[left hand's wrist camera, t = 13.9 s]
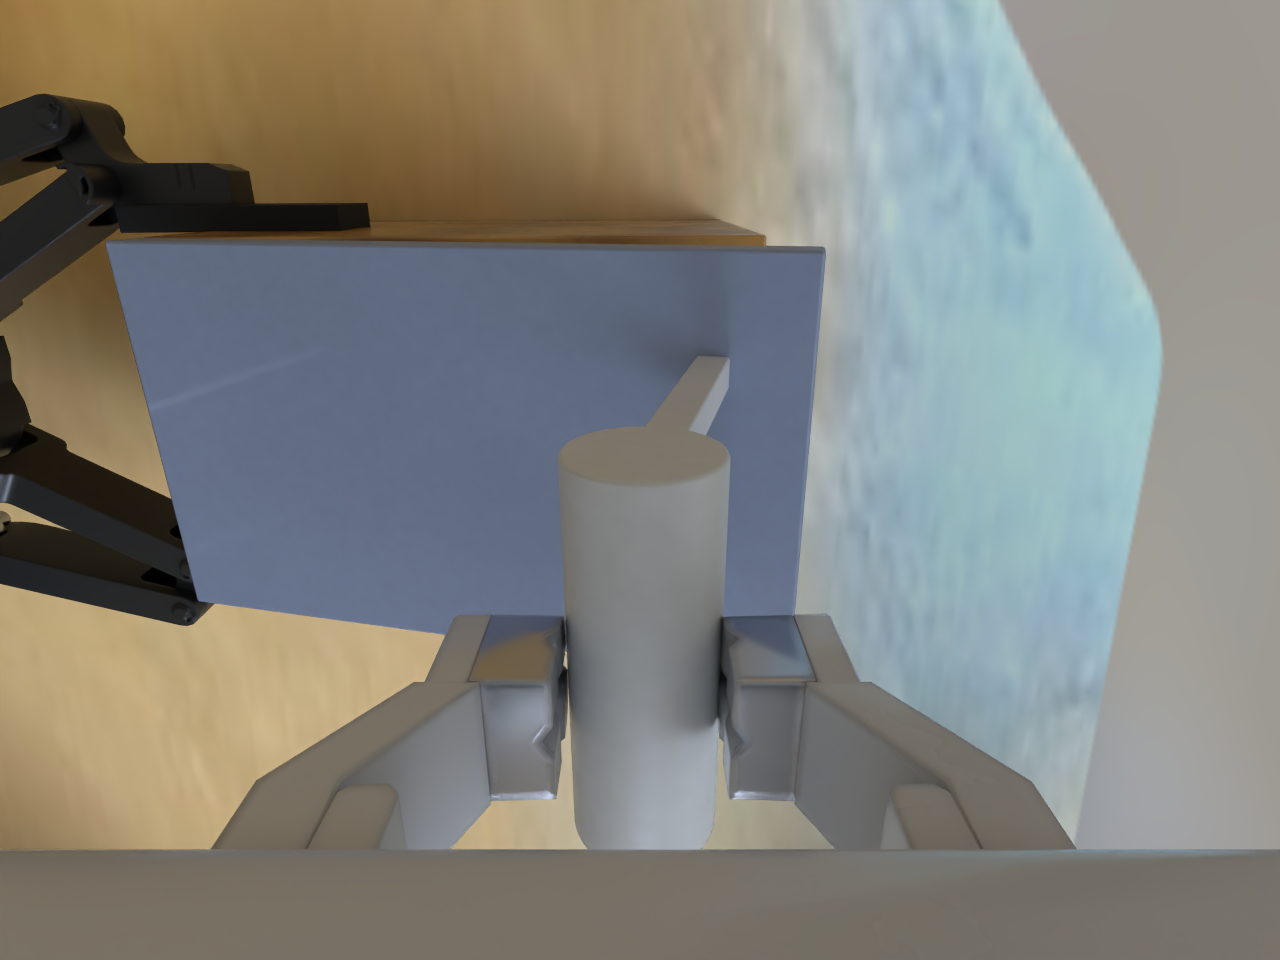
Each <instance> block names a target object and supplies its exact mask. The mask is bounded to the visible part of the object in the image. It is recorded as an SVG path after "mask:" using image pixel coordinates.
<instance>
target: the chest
mask: <svg viewBox="0 0 1280 960" xmlns="http://www.w3.org/2000/svg"><path fill="white" fill-rule="evenodd" d="M145 238H179V239H258V240H337V241H416V242H496V243H575V244H654V245H733V246H766V236H765V235H762V234H759V233H756V232H753V231H750V230H747V229H744V228H741V227H739V226H736V225H733V224H730V223H727V222H724V221H721V220H524V221H370V227H364V228H357V229H350V230H343V231H207V232H197V233H186V234H176V235H166V236H155V237H145Z"/></svg>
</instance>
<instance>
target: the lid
mask: <svg viewBox="0 0 1280 960" xmlns="http://www.w3.org/2000/svg"><path fill="white" fill-rule="evenodd" d="M105 245H106V249H107V252H108V256H109V260H110V264H111V268H112V272H113V275H114V279H115V283H116V287H117V291H118V295H119V299H120V302H121V306H122V310H123V314H124V318H125V322H126V326H127V329H128V333H129V337H130V341H131V345H132V349H133V353H134V356H135V360H136V364H137V368H138V372H139V376H140V379H141V383H142V387H143V391H144V395H145V399H146V403H147V406H148V410H149V414H150V418H151V422H152V426H153V430H154V433H155V437H156V441H157V445H158V449H159V453H160V457H161V460H162V464H163V468H164V472H165V476H166V480H167V483H168V487H169V491H170V495H171V499H172V503H173V507H174V510H175V514H176V518H177V522H178V526H179V530H180V534H181V537H182V541H183V545H184V549H185V553H186V557H187V561H188V564H189V568H190V572H191V576H192V580H193V584H194V587H195V591H196V595H197V599H198V601H201V602H209V603H216V604H223V605H231V606H238V607H245V608H253V609H260V610H267V611H275V612H282V613H289V614H297V615H304V616H311V617H319V618H326V619H333V620H341V621H348V622H355V623H363V624H370V625H377V626H385V627H392V628H399V629H407V630H414V631H421V632H429V633H436V634H443V635H446V633H447V631H448V629H449V627H450V624H451V622H452V620H453V618H454V617H455V616H457V615H459V614H492V615H495V614H496V615H548V616H564V620H565V629H566V649H565V651H567V666H568V687H569V708H570V729H571V750H572V771H573V792H574V813H575V824H576V829H577V831H578V834H579V836H580V838H581V840H582V842H583V843H584V844H585V846H586V847H587V848H588V850H701V849H702V847H703V846H704V845H705V843H706V842H707V840H708V839H709V837H710V834H711V832H712V829H713V825H714V815H715V793H716V771H717V749H718V721H717V707H718V685H719V678H720V674H721V659H720V642H721V623H722V617H730V616H770V615H795V604H796V593H797V581H798V570H799V558H800V546H801V535H802V523H803V512H804V500H805V489H806V477H807V466H808V454H809V442H810V431H811V419H812V408H813V396H814V385H815V373H816V361H817V350H818V338H819V327H820V315H821V304H822V292H823V281H824V269H825V257H826V250H825V248H824V247H812V246H733V245H654V244H575V243H496V242H416V241H337V240H258V239H179V238H138V239H124V240H110V241H107V242H106V243H105Z"/></svg>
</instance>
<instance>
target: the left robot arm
mask: <svg viewBox="0 0 1280 960" xmlns="http://www.w3.org/2000/svg"><path fill="white" fill-rule="evenodd" d="M565 649H566V629H565V620H564V616H548V615H496V614H495V615H492V614H459V615H457V616H455V617H454V618H453V620H452V622H451V624H450V627H449V629H448V631H447V633H446V635H445V638H444V640H443V642H442V644H441V647H440V649H439V651H438V653H437V656H436V658H435V660H434V662H433V664H432V667H431V669H430V671H429V673H428V676H427V678H426V680H425V682H414V683H412V684H410V685H409V686H407V687H406V688H404V689H402V690H401V691H399V692H398V693H396V694H394V695H393V696H391V697H390V698H388V699H386V700H385V701H383V702H382V703H380V704H378V705H377V706H375V707H374V708H372V709H370V710H369V711H367V712H366V713H364V714H362V715H361V716H359V717H358V718H356V719H354V720H353V721H351V722H349V723H348V724H346V725H345V726H343V727H341V728H340V729H338V730H337V731H335V732H333V733H332V734H330V735H329V736H327V737H325V738H324V739H322V740H321V741H319V742H317V743H316V744H314V745H313V746H311V747H309V748H308V749H306V750H305V751H303V752H301V753H300V754H298V755H297V756H295V757H293V758H292V759H290V760H289V761H287V762H285V763H284V764H282V765H280V766H279V767H277V768H276V769H274V770H272V771H271V772H269V773H268V774H266V775H264V776H263V777H261V778H260V779H258V780H256V782H255V783H254V785H253V786H252V788H251V789H250V791H249V792H248V794H247V795H246V797H245V798H244V800H243V801H242V803H241V804H240V806H239V807H238V809H237V810H236V812H235V813H234V815H233V816H232V818H231V819H230V821H229V822H228V824H227V825H226V827H225V828H224V830H223V831H222V833H221V834H220V836H219V837H218V839H217V840H216V842H215V843H214V845H213V846H212V848H211V849H0V960H1280V850H1145V849H1143V850H1141V849H1140V850H1138V849H1136V850H1134V849H1132V850H1131V849H1128V850H1127V849H1076V847H1075V846H1074V844H1073V843H1072V841H1071V840H1070V838H1069V837H1068V835H1067V834H1066V832H1065V831H1064V829H1063V828H1062V826H1061V825H1060V823H1059V822H1058V820H1057V819H1056V817H1055V816H1054V814H1053V813H1052V811H1051V810H1050V808H1049V807H1048V805H1047V804H1046V802H1045V801H1044V799H1043V798H1042V796H1041V795H1040V793H1039V792H1038V790H1037V789H1036V787H1035V786H1034V784H1033V783H1032V782H1031V781H1030V780H1028V779H1026V778H1025V777H1023V776H1022V775H1020V774H1018V773H1017V772H1015V771H1014V770H1012V769H1010V768H1009V767H1007V766H1005V765H1004V764H1002V763H1001V762H999V761H997V760H996V759H994V758H993V757H991V756H989V755H988V754H986V753H985V752H983V751H981V750H980V749H978V748H976V747H975V746H973V745H972V744H970V743H968V742H967V741H965V740H964V739H962V738H960V737H959V736H957V735H956V734H954V733H952V732H951V731H949V730H947V729H946V728H944V727H943V726H941V725H939V724H938V723H936V722H935V721H933V720H931V719H930V718H928V717H927V716H925V715H923V714H922V713H920V712H918V711H917V710H915V709H914V708H912V707H910V706H909V705H907V704H906V703H904V702H902V701H901V700H899V699H898V698H896V697H894V696H893V695H891V694H889V693H888V692H886V691H885V690H883V689H881V688H880V687H878V686H877V685H875V684H873V683H872V682H860V679H859V677H858V675H857V673H856V671H855V669H854V667H853V664H852V662H851V660H850V658H849V656H848V654H847V651H846V649H845V647H844V645H843V643H842V641H841V639H840V636H839V634H838V632H837V630H836V628H835V626H834V624H833V621H832V619H831V617H830V616H828V615H827V614H804V615H770V616H730V617H722V623H721V642H720V659H721V674H720V678H719V685H718V707H717V721H718V729H719V737H720V738H721V739H722V740H723V741H724V752H723V764H724V770H725V777H726V783H727V789H728V796H729V799H744V800H781V801H795V803H794V804H795V805H796V806H797V807H798V808H799V809H800V811H801V812H802V813H803V814H804V815H805V816H806V817H807V818H808V819H809V820H810V821H811V823H812V824H813V825H814V826H815V827H816V828H817V829H818V830H819V831H820V832H821V834H822V835H823V836H824V837H825V838H826V839H827V840H828V841H829V842H830V843H831V844H832V846H833V847H834V848H835V849H836V850H486V849H484V850H483V849H451V847H452V846H453V845H454V844H455V843H456V842H457V841H458V840H459V839H460V838H461V836H462V835H463V834H464V833H465V832H466V831H467V830H468V829H469V828H470V827H471V825H472V824H473V823H474V822H475V821H476V820H477V819H478V818H479V817H480V816H481V814H482V813H483V812H484V811H485V810H486V809H487V808H488V807H489V806H490V805H491V804H490V801H504V800H539V799H556V796H557V789H558V782H559V776H560V769H561V762H562V759H561V741H562V740H563V739H564V738H565V733H566V724H567V710H568V670H567V669H566V668H565V666H564V665H563V662H564V656H565Z"/></svg>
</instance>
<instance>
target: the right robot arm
mask: <svg viewBox="0 0 1280 960" xmlns="http://www.w3.org/2000/svg"><path fill="white" fill-rule="evenodd" d="M124 135H125V125H124V122H123V118H122V117H121V116H120V114H119V113H118V111H117V110H115V109H114V108H113V107H111V106H110V105H107V104H103V103H98V102H92V101H86V100H80V99H74V98H68V97H62V96H55V95H49V94H38V95H34V96H31V97H29V98H26V99H23V100H21V101H18V102H15V103H12V104H10V105H7V106H4V107H2V108H0V186H1V185H4V184H7V183H9V182H12V181H15V180H18V179H21V178H23V177H26V176H29V175H32V174H35V173H37V172H40V171H43V170H46V169H49V168H51V167H54V166H56V168H57V169H67V172H65V173H64V174H63V175H61V176H60V177H59V178H58V179H56V180H55V181H54V182H52V183H51V184H50V185H48V186H47V187H46V188H45V189H43V190H42V191H41V192H39V193H38V194H37V195H35V196H34V197H33V198H31V199H30V200H29V201H28V202H26V203H25V204H24V205H22V206H21V207H20V208H18V209H17V210H16V211H14V212H13V213H12V214H11V215H9V216H8V217H7V218H5V219H4V220H3V221H1V222H0V321H2V320H3V319H4V318H6V317H7V316H9V315H10V314H11V313H13V312H14V311H15V310H17V309H18V308H19V307H21V306H22V305H23V302H22V301H21V300H22V299H23V298H25V297H26V296H27V295H29V294H30V293H32V292H33V291H34V290H36V289H37V288H38V287H40V286H41V285H43V284H44V283H45V282H47V281H48V280H49V279H51V278H52V277H53V276H55V275H56V274H58V273H59V272H60V271H62V270H63V269H64V268H66V267H67V266H68V265H70V264H71V263H73V262H74V261H75V260H77V259H78V258H79V257H81V256H82V255H83V254H85V253H86V252H88V251H89V250H90V249H92V248H93V247H94V246H96V245H97V244H99V243H100V242H101V241H103V240H104V239H105V238H107V237H108V236H109V235H111V234H112V233H114V232H115V231H116V230H118V229H119V228H120V231H121V233H149V232H207V231H343V230H350V229H357V228H364V227H370V220H369V212H368V205H367V203H274V204H255V202H254V196H253V191H252V186H251V180H250V175H249V171H246V170H244V169H241V168H239V167H236V166H234V165H230V164H214V163H147V162H144V161H143V160H141V159H140V158H138V157H137V156H136V155H135V154H134V153H133V152H132V150H131V149H130V147H129V146H128V144H127V142H126V141H125V139H124ZM65 162H66V163H65ZM30 422H31V419H30V416H29V413H28V410H27V407H26V404H25V401H24V399H23V398H22V396H21V394H20V393H19V391H18V389H17V388H16V386H15V384H14V383H13V381H12V374H11V357H10V354H9V351H8V348H7V345H6V342H5V339H4V336H0V503H9V504H12V505H14V506H16V507H19V508H21V509H23V510H25V511H28V512H30V513H32V514H35V515H37V516H39V517H41V518H44V519H46V520H48V521H50V522H53V523H55V524H57V525H59V526H62V527H64V528H66V529H68V530H65V529H61V528H56V527H52V526H48V525H43V524H38V523H30V522H11V518H10V516H9V515H8V514H7V513H6V512H3V511H0V584H4V585H8V586H12V587H17V588H21V589H25V590H30V591H34V592H38V593H43V594H47V595H51V596H56V597H60V598H64V599H69V600H73V601H77V602H82V603H86V604H90V605H95V606H99V607H104V608H108V609H112V610H117V611H121V612H125V613H130V614H134V615H138V616H143V617H147V618H151V619H156V620H160V621H164V622H169V623H173V624H177V625H183V626H189V625H192V624H194V623H195V622H196V621H197V620H198V619H199V618H200V617H201V616H203V615H204V614H205V613H206V612H207V611H208V610H209V609H210V608H211V607H212V606H213V605H214V604H215V603H209V602H201V601H198V599H197V595H196V591H195V587H194V584H193V580H192V576H191V572H190V568H189V564H188V561H187V557H186V553H185V549H184V545H183V541H182V537H181V534H180V530H179V526H178V522H177V518H176V514H175V510H174V507H173V503H172V499H170V498H168V497H166V496H164V495H161V494H159V493H157V492H155V491H153V490H151V489H149V488H146V487H144V486H142V485H140V484H138V483H136V482H133V481H131V480H129V479H127V478H125V477H123V476H120V475H118V474H116V473H114V472H112V471H110V470H108V469H105V468H103V467H101V466H99V465H97V464H95V463H92V462H90V461H88V460H86V459H84V458H82V457H80V456H77V455H75V454H73V453H71V452H69V451H68V450H67V444H66V443H65V441H63V440H62V439H60V438H58V437H56V436H54V435H51V434H49V433H47V432H45V431H43V430H41V429H38V428H36V427H34V426H32V425H30V424H28V423H30ZM69 530H71V531H69Z"/></svg>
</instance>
